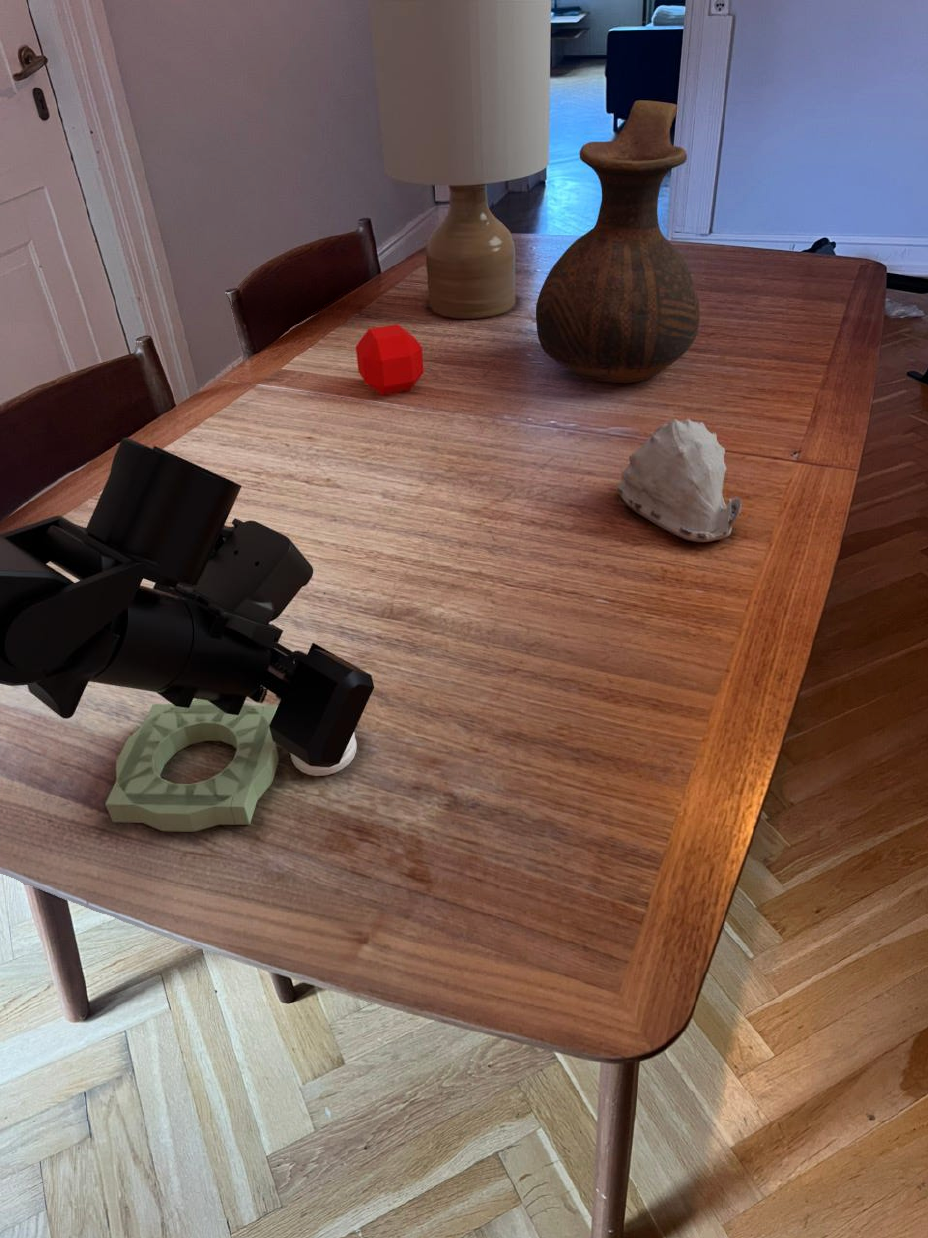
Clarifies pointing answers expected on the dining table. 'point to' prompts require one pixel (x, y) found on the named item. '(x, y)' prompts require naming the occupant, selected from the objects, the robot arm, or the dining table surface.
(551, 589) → the dining table surface
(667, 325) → the jug
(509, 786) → the dining table surface
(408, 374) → the ball
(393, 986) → the dining table surface
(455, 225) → the lamp
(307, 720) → the robot arm
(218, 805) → the pad
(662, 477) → the seashell
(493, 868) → the dining table surface
